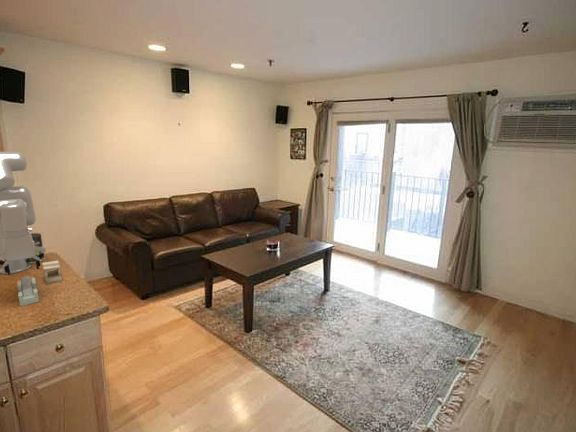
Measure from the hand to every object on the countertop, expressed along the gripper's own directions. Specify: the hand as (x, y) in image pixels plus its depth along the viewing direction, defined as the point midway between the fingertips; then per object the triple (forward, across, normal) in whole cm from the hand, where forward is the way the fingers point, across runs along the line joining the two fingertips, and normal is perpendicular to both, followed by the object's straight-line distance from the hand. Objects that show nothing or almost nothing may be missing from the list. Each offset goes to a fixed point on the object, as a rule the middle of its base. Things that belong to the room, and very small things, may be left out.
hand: (23, 270), depth 139 cm
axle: (+10, 0, -3) cm, 10 cm away
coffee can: (+14, -4, -49) cm, 51 cm away
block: (+13, -10, -14) cm, 22 cm away
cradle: (+12, 0, 0) cm, 12 cm away
